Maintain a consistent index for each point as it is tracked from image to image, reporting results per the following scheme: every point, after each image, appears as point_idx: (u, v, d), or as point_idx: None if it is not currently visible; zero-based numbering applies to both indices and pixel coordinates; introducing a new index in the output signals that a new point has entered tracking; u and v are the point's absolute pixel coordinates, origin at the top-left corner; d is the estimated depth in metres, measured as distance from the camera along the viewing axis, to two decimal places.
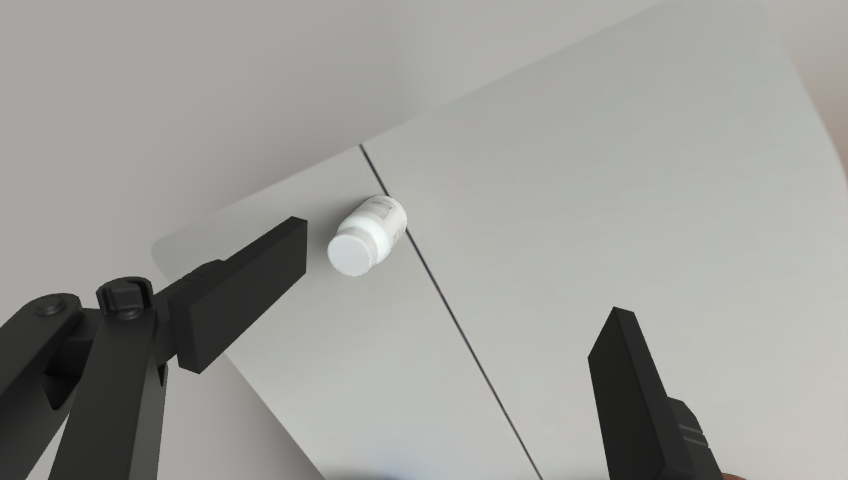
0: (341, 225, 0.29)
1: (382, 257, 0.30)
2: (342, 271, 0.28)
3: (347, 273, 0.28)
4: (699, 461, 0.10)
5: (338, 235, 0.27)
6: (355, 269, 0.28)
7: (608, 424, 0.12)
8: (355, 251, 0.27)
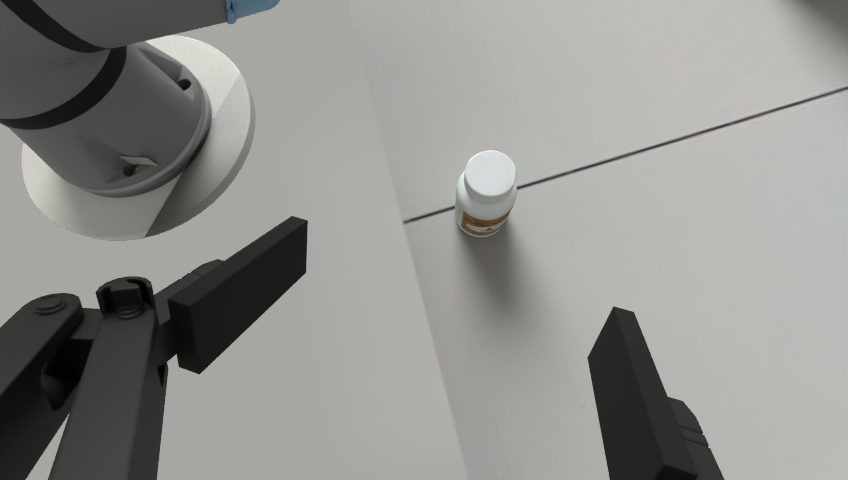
0: (465, 204, 0.27)
1: None
2: (509, 184, 0.25)
3: (511, 178, 0.25)
4: (699, 461, 0.10)
5: (466, 180, 0.26)
6: (506, 169, 0.25)
7: (608, 424, 0.12)
8: (484, 164, 0.26)
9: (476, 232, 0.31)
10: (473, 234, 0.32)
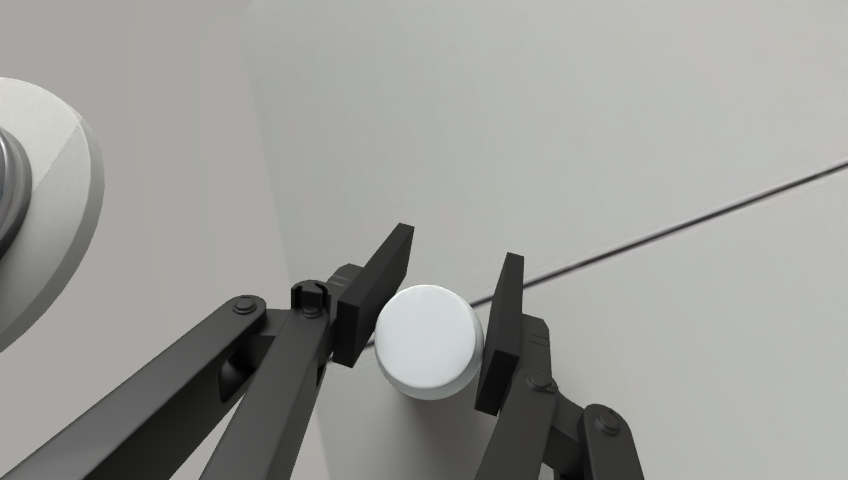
0: (389, 376, 0.15)
1: None
2: (462, 359, 0.12)
3: (467, 348, 0.12)
4: (536, 355, 0.12)
5: (377, 351, 0.13)
6: (456, 325, 0.13)
7: (487, 342, 0.15)
8: (413, 316, 0.13)
9: None
10: None
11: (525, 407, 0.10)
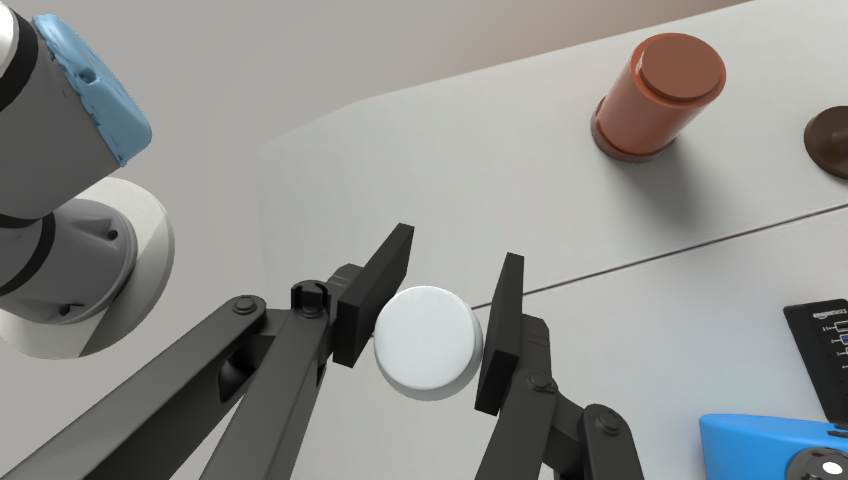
0: (388, 377, 0.15)
1: None
2: (461, 361, 0.12)
3: (466, 349, 0.12)
4: (536, 355, 0.12)
5: (376, 352, 0.13)
6: (455, 326, 0.13)
7: (486, 342, 0.15)
8: (412, 317, 0.13)
9: None
10: None
11: (525, 407, 0.10)
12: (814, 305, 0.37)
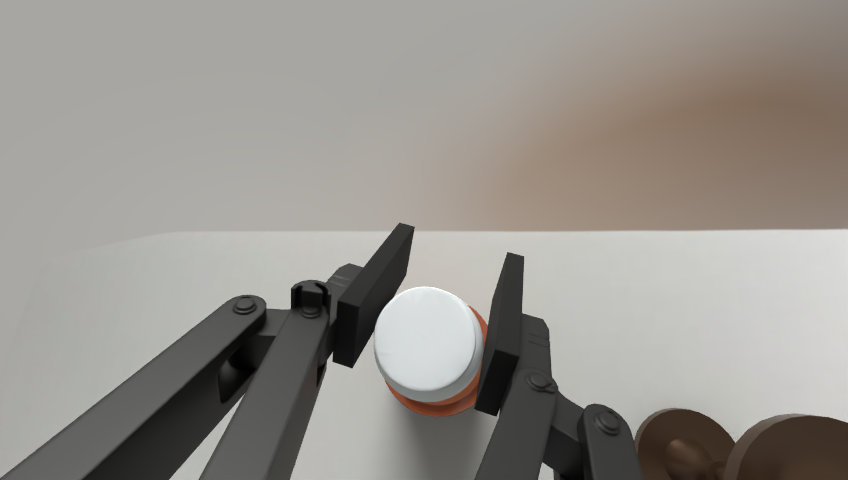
0: (388, 378, 0.15)
1: None
2: (462, 362, 0.12)
3: (466, 350, 0.12)
4: (536, 355, 0.12)
5: (376, 353, 0.13)
6: (456, 327, 0.13)
7: (486, 342, 0.15)
8: (412, 318, 0.13)
9: None
10: None
11: (525, 407, 0.10)
12: None
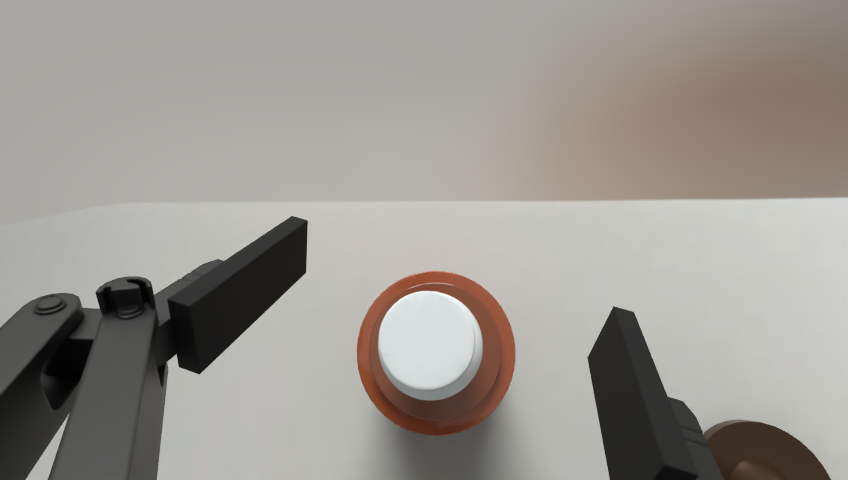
0: (391, 378, 0.15)
1: None
2: (462, 362, 0.13)
3: (466, 351, 0.13)
4: (699, 461, 0.10)
5: (381, 354, 0.13)
6: (456, 330, 0.13)
7: (608, 424, 0.12)
8: (415, 321, 0.14)
9: None
10: None
11: None
12: None
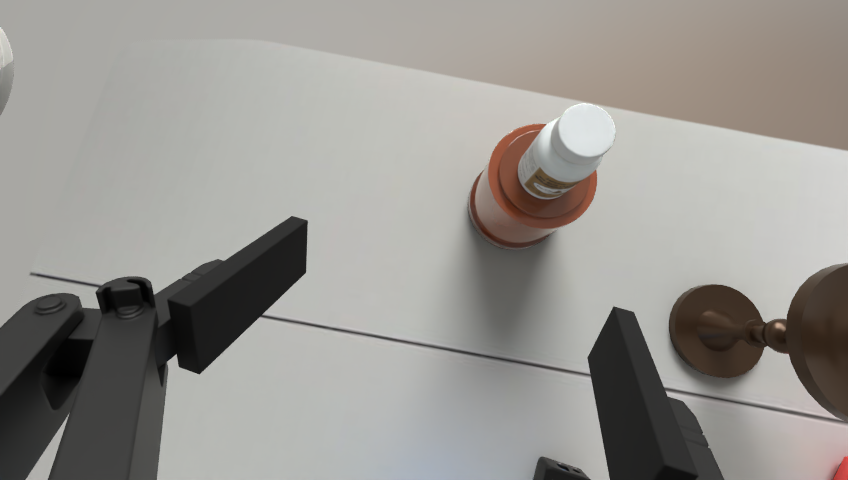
0: (546, 161, 0.25)
1: None
2: (606, 145, 0.22)
3: (609, 140, 0.22)
4: (699, 461, 0.10)
5: (558, 134, 0.23)
6: (605, 128, 0.23)
7: (608, 424, 0.12)
8: (581, 119, 0.23)
9: (541, 193, 0.28)
10: (536, 194, 0.29)
11: None
12: (559, 472, 0.34)
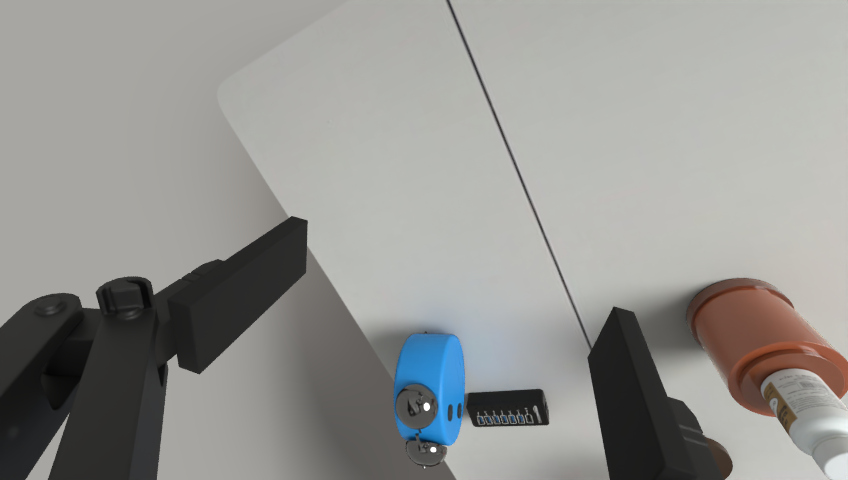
0: (806, 428, 0.29)
1: None
2: None
3: None
4: (699, 461, 0.10)
5: (840, 452, 0.27)
6: None
7: (608, 424, 0.12)
8: None
9: (767, 398, 0.33)
10: (763, 391, 0.33)
11: None
12: (542, 408, 0.52)
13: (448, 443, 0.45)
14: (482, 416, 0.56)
